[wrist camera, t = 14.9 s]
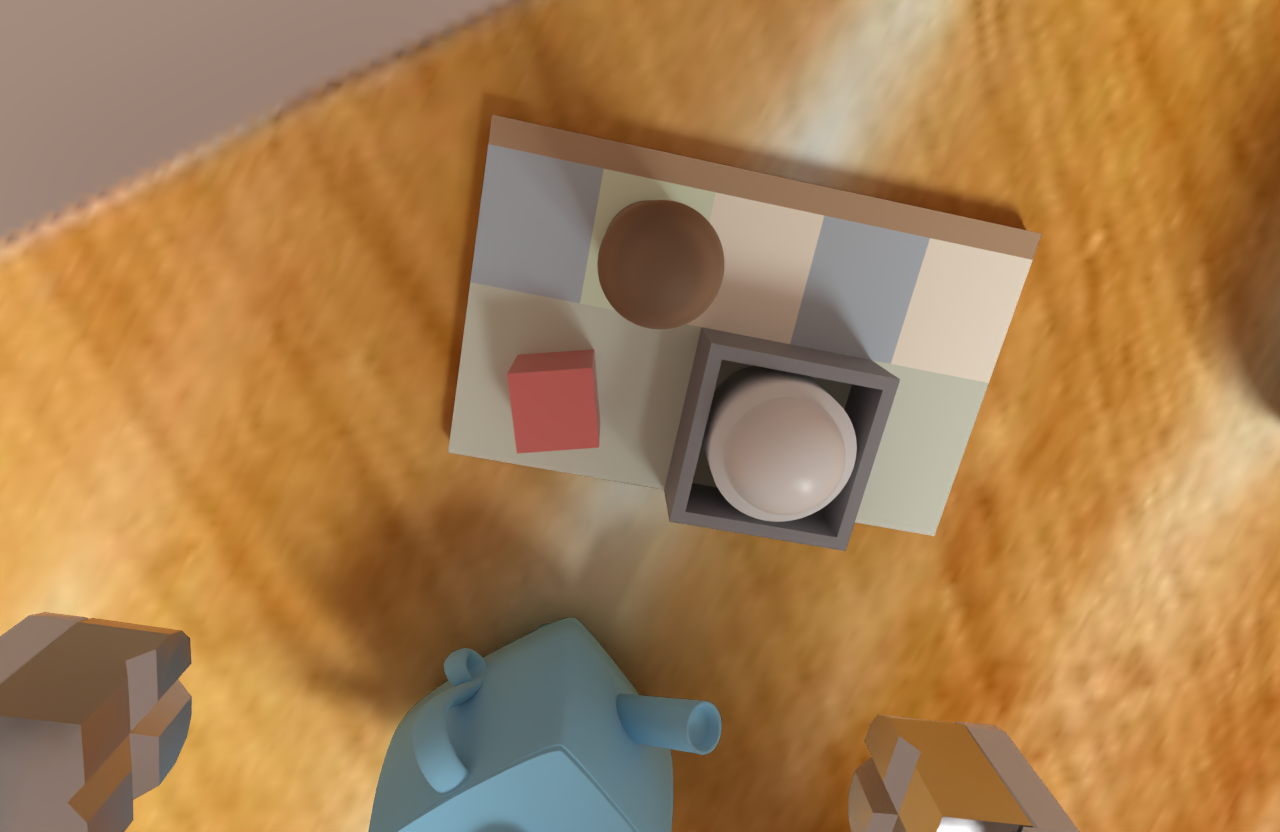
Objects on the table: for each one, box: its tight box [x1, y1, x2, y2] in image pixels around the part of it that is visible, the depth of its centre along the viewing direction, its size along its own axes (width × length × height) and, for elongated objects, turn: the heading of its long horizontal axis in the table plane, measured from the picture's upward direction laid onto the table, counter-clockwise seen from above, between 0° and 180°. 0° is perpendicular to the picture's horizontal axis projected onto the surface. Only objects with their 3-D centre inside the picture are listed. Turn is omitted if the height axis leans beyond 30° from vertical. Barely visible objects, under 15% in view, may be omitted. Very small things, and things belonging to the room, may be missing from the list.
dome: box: [702, 366, 857, 522], centre depth 27 cm, size 5×5×5 cm
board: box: [448, 115, 1042, 551], centre depth 28 cm, size 21×13×4 cm, turn 79°
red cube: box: [507, 349, 600, 453], centre depth 27 cm, size 3×3×3 cm
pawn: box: [597, 200, 724, 330], centre depth 24 cm, size 4×4×8 cm
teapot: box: [369, 617, 722, 832], centre depth 30 cm, size 18×14×10 cm
